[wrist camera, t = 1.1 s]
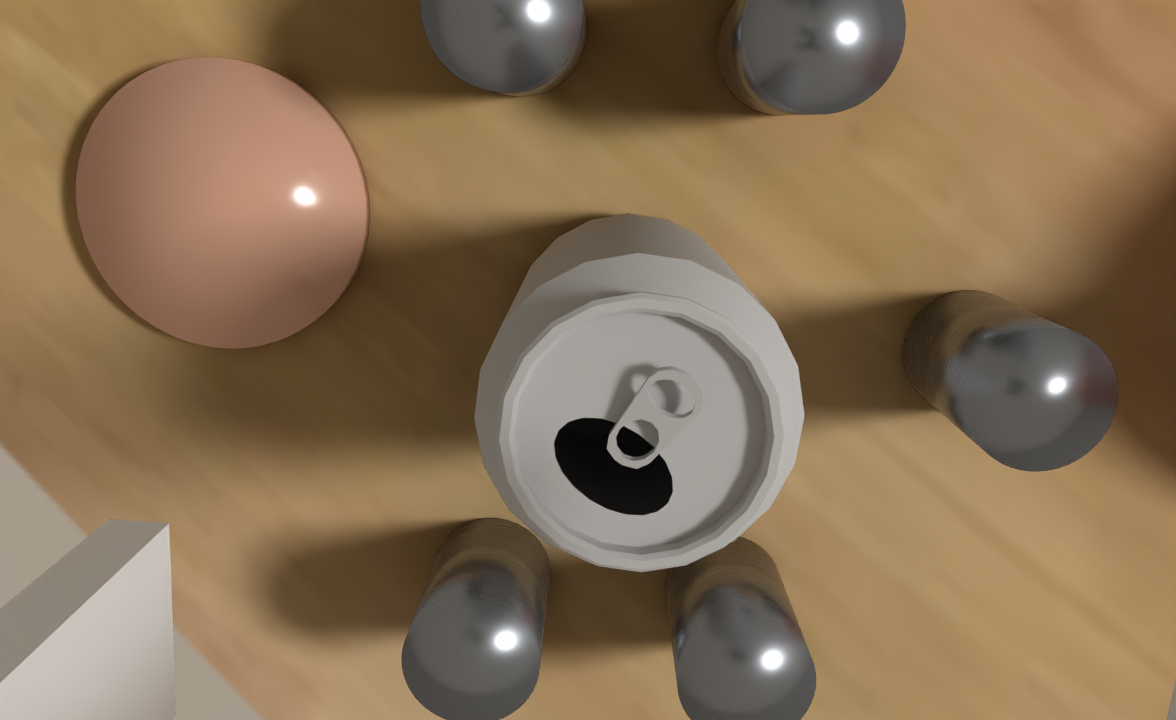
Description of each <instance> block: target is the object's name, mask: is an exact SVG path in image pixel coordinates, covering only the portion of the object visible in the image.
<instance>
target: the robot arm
mask: <svg viewBox="0 0 1176 720" xmlns="http://www.w3.org/2000/svg"><path fill="white" fill-rule="evenodd" d="M175 715H176V700H175V672H174V645H173V618H172V591H171V564H170V537H169V523H157V522H142V521H128V520H113V519H109V520H108V521H106V522H105V523H104V524H103V525H101V526H100V527H99V528H98V529H97V530H95V531H94V532H93V533H92V534H91V535H89V536H88V537H87V538H86V539H84V540H83V541H82V542H81V543H80V544H79V545H77V546H76V547H75V548H74V549H72V550H71V551H70V552H69V553H68V554H66V555H65V556H64V557H63V558H61V559H60V560H59V561H58V562H57V563H55V564H54V565H53V566H52V567H50V568H49V569H48V570H47V571H46V572H44V573H43V574H42V575H41V576H40V577H38V578H37V579H36V580H35V581H34V582H32V583H31V584H30V585H29V586H28V587H26V588H25V589H24V590H23V591H21V592H20V593H19V594H18V595H16V596H15V597H14V598H13V599H12V600H11V601H9V602H8V603H7V604H6V605H4V606H3V607H2V608H1V609H0V720H172V719H173V718H174V716H175ZM1167 720H1176V682H1175V686H1174V690H1173V694H1172V699H1171V703H1170V707H1169V712H1168V716H1167Z"/></svg>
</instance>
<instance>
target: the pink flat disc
mask: <svg viewBox="0 0 1176 720" xmlns="http://www.w3.org/2000/svg"><path fill="white" fill-rule="evenodd" d="M76 205H77V214H78V219H79V223H80V227H81V232H82V236H83V238H84V241H85V243H86V246H87V249H88V251H89V254H90V256H91V258H92V260H93V261H94V263H95V265H96V267H97V269H98V271H99V272H100V274H101V275H102V277H103V278H104V280H105V281H106V283H107V284H108V285H109V287H110V288H111V289H112V290H113V291H114V293H115V294H116V295H117V296H118V297H119V298H120V299H121V301H122V302H124V303H125V304H126V305H127V306H128V307H129V308H130V309H131V310H132V311H133V312H135V313H136V314H137V315H138V316H140V317H141V318H143V319H144V320H145V321H147V322H148V323H150V324H151V325H153V326H154V327H156V328H158V329H160V330H162V331H164V332H165V333H167V334H169V335H172V336H174V337H177V338H179V339H182V340H184V341H187V342H191V343H195V344H199V345H202V346H208V347H216V348H238V349H241V348H249V347H257V346H261V345H265V344H269V343H273V342H276V341H279V340H281V339H284V338H286V337H289V336H291V335H293V334H295V333H296V332H298V331H300V330H302V329H303V328H305V327H307V326H308V325H310V324H311V323H313V322H314V321H315V320H317V319H318V318H319V317H320V316H322V315H323V314H324V313H326V312H327V311H328V310H329V309H330V308H331V307H332V306H333V305H334V304H335V303H336V302H337V301H338V300H339V299H340V297H341V296H342V295H343V293H344V292H345V290H346V289H347V288H348V286H349V285H350V283H351V282H352V280H353V278H354V276H355V274H356V272H357V270H358V268H359V266H360V263H361V260H362V257H363V255H364V252H365V248H366V243H367V239H368V234H369V222H370V204H369V193H368V187H367V182H366V177H365V174H364V171H363V167H362V164H361V161H360V158H359V156H358V154H357V152H356V150H355V147H354V145H353V143H352V141H351V140H350V138H349V136H348V135H347V133H346V131H345V130H344V128H343V126H342V125H341V124H340V122H339V121H338V120H337V119H336V117H335V116H334V115H333V114H332V112H331V111H330V110H329V109H328V108H327V107H326V106H325V105H324V104H323V103H322V102H321V101H320V100H319V99H318V98H317V97H316V96H315V95H313V94H312V93H311V92H309V91H308V90H307V89H305V88H304V87H303V86H302V85H300V84H299V83H297V82H295V81H293V80H292V79H290V78H288V77H287V76H285V75H283V74H281V73H278V72H276V71H274V70H271V69H269V68H267V67H264V66H260V65H257V64H253V63H250V62H246V61H240V60H233V59H226V58H218V57H197V58H189V59H182V60H177V61H173V62H170V63H166V64H163V65H160V66H158V67H155V68H153V69H151V70H149V71H146V72H144V73H142V74H141V75H139V76H138V77H136V78H135V79H133V80H131V81H130V82H128V83H127V84H126V85H125V86H124V87H122V88H121V89H120V90H119V91H118V92H117V93H116V94H114V95H113V96H112V98H111V99H110V100H109V101H108V102H107V103H106V105H105V106H104V107H103V108H102V109H101V111H100V112H99V114H98V116H97V117H96V119H95V120H94V122H93V123H92V125H91V127H90V130H89V132H88V134H87V136H86V138H85V141H84V143H83V147H82V150H81V154H80V157H79V161H78V168H77V175H76Z"/></svg>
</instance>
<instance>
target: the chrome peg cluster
mask: <svg viewBox="0 0 1176 720" xmlns="http://www.w3.org/2000/svg"><path fill="white" fill-rule="evenodd" d="M421 16H422V23H423V27H424V30H425V34H426V37H427V39H428V41H429V44H430V46H431V47H432V49H433V51H434V53H435V54H436V56H437V57H438V58H439V60H440V61H441V62H442V63H443V65H444V66H445V67H446V68H447V69H448V70H449V71H451V72H452V73H453V74H454V75H456V76H457V77H458V78H460V79H461V80H463V81H465V82H467V83H468V84H471V85H473V86H475V87H478V88H482V89H485V90H489V91H493V92H497V93H501V94H506V95H510V96H517V97H526V96H534V95H538V94H541V93H544V92H546V91H549V90H551V89H553V88H554V87H556V86H558V85H559V84H560V83H561V82H563V81H564V80H565V79H566V78H567V77H568V76H569V75H570V74H571V72H572V71H573V70H574V68H575V67H576V65H577V63H578V61H579V60H580V57H581V55H582V52H583V49H584V45H585V40H586V18H585V12H584V6H583V1H582V0H421ZM905 29H906V22H905V11H904V6H903V2H902V0H736V1H735V2H734V4H733V5H732V6H731V7H730V9H729V10H728V12H727V14H726V15H725V17H724V20H723V22H722V24H721V27H720V31H719V34H718V40H717V60H718V65H719V69H720V72H721V75H722V78H723V80H724V81H725V83H726V85H727V87H728V88H729V90H730V91H731V92H732V93H733V94H734V96H735V97H736V98H737V99H738V100H740V101H741V102H742V103H743V104H745V105H746V106H748V107H750V108H752V109H754V110H756V111H758V112H762V113H765V114H771V115H812V114H831V113H837V112H840V111H844V110H847V109H850V108H852V107H854V106H856V105H858V104H860V103H862V102H863V101H865V100H866V99H868V98H869V97H870V96H872V95H873V94H874V93H875V92H876V91H877V90H878V89H879V88H881V87H882V85H883V84H884V83H885V82H886V80H887V79H888V78H889V76H890V75H891V73H892V72H893V70H894V68H895V66H896V64H897V62H898V60H899V58H900V55H901V52H902V48H903V44H904V39H905ZM903 362H904V367H905V371H906V374H907V377H908V379H909V381H910V383H911V384H912V386H913V387H914V388H915V390H916V391H917V392H918V393H919V394H920V395H921V396H922V397H923V398H925V399H926V400H927V401H928V402H929V403H930V404H931V405H933V406H934V407H935V408H936V409H937V410H938V411H939V412H941V413H942V414H943V415H944V416H945V417H946V418H947V419H949V420H950V421H951V422H952V423H953V424H954V425H955V426H957V427H958V428H959V429H960V430H961V431H962V432H963V433H965V434H966V435H967V436H968V437H969V438H970V439H971V440H973V441H974V442H975V443H976V444H977V445H978V446H980V447H981V448H982V449H983V450H984V451H985V452H986V453H988V454H989V455H990V456H991V457H993V458H994V459H995V460H997V461H999V462H1000V463H1002V464H1004V465H1006V466H1009V467H1011V468H1015V469H1018V470H1024V471H1047V470H1052V469H1057V468H1060V467H1063V466H1066V465H1068V464H1070V463H1072V462H1074V461H1076V460H1078V459H1080V458H1081V457H1083V456H1084V455H1086V454H1087V453H1088V452H1089V451H1090V450H1092V449H1093V448H1094V447H1095V446H1096V445H1097V444H1098V443H1099V441H1100V440H1101V439H1102V438H1103V436H1104V435H1105V434H1106V432H1107V430H1108V428H1109V427H1110V425H1111V423H1112V420H1113V418H1114V415H1115V412H1116V408H1117V402H1118V383H1117V377H1116V374H1115V370H1114V368H1113V366H1112V364H1111V362H1110V360H1109V358H1108V357H1107V355H1106V354H1105V353H1104V352H1103V350H1102V349H1101V348H1100V347H1099V346H1098V345H1097V344H1095V343H1094V342H1093V341H1092V340H1090V339H1088V338H1087V337H1085V336H1083V335H1081V334H1079V333H1077V332H1074V331H1072V330H1070V329H1068V328H1066V327H1063V326H1061V325H1059V324H1057V323H1055V322H1052V321H1050V320H1048V319H1046V318H1044V317H1041V316H1039V315H1037V314H1035V313H1033V312H1030V311H1028V310H1026V309H1024V308H1021V307H1019V306H1017V305H1015V304H1013V303H1010V302H1008V301H1006V300H1004V299H1002V298H999V297H997V296H995V295H993V294H990V293H987V292H983V291H976V290H964V291H957V292H953V293H949V294H947V295H944V296H942V297H940V298H938V299H936V300H934V301H933V302H932V303H930V304H929V305H927V306H926V307H925V308H924V309H923V310H922V311H921V312H920V313H919V314H918V315H917V317H916V318H915V319H914V321H913V322H912V324H911V326H910V328H909V330H908V332H907V335H906V338H905V342H904V347H903ZM549 584H550V563H549V559H548V556H547V553H546V551H545V549H544V547H543V546H542V544H541V543H540V541H539V540H538V539H537V538H536V537H535V536H534V535H533V534H532V533H531V532H530V531H528V530H527V529H526V528H524V527H522V526H521V525H519V524H517V523H514V522H512V521H508V520H504V519H498V518H485V519H478V520H474V521H471V522H469V523H466V524H464V525H462V526H460V527H459V528H457V529H456V530H455V531H453V532H452V533H451V534H450V535H449V536H448V537H447V539H446V540H445V541H444V543H443V544H442V546H441V548H440V550H439V553H438V555H437V558H436V560H435V563H434V566H433V568H432V571H431V574H430V576H429V579H428V581H427V584H426V587H425V589H424V592H423V595H422V597H421V600H420V602H419V605H418V608H417V610H416V613H415V615H414V618H413V621H412V623H411V626H410V629H409V631H408V634H407V636H406V639H405V642H404V645H403V649H402V669H403V675H404V677H405V680H406V683H407V685H408V687H409V689H410V691H411V692H412V694H413V695H414V697H415V698H416V699H417V700H418V701H419V702H420V703H421V704H422V705H423V706H424V707H425V708H426V709H428V710H429V711H431V712H432V713H434V714H436V715H437V716H439V717H441V718H444V719H446V720H499V719H502V718H504V717H506V716H508V715H510V714H512V713H513V712H514V711H516V710H517V709H518V708H520V707H521V706H522V705H523V704H524V703H525V702H526V700H527V699H528V698H529V696H530V695H531V693H532V692H533V690H534V688H535V685H536V683H537V679H538V676H539V669H540V660H541V652H542V643H543V635H544V626H545V618H546V609H547V601H548V592H549ZM665 594H666V602H667V610H668V617H669V625H670V633H671V640H672V648H673V656H674V664H675V671H676V679H677V687H678V694H679V698H680V702H681V704H682V706H683V709H684V710H685V712H686V714H687V715H688V717H689V718H690V719H691V720H800V719H801V718H802V717H803V716H804V714H805V713H806V712H807V710H808V708H809V706H810V704H811V702H812V700H813V697H814V693H815V688H816V671H815V667H814V663H813V660H812V658H811V655H810V653H809V650H808V647H807V645H806V642H805V640H804V637H803V634H802V632H801V629H800V627H799V624H798V621H797V619H796V616H795V614H794V611H793V608H792V606H791V603H790V601H789V598H788V595H787V593H786V590H785V588H784V585H783V582H782V580H781V577H780V575H779V572H778V569H777V567H776V565H775V563H774V561H773V559H772V558H771V557H770V555H769V554H768V553H767V552H766V551H765V550H764V549H763V548H762V547H760V546H759V545H757V544H756V543H754V542H752V541H750V540H748V539H746V538H743V537H737V538H736V539H735V540H734V541H733V542H730V543H729V544H728V545H726V546H725V547H723V548H721V549H719V550H717V551H715V552H713V553H711V554H708V555H706V556H704V557H702V558H700V559H698V560H696V561H694V562H692V563H690V564H687V565H685V566H679V567H672V568H670V569H669V571H668V574H667V578H666V583H665Z"/></svg>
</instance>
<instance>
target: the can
mask: <svg viewBox="0 0 1176 720" xmlns="http://www.w3.org/2000/svg"><path fill="white" fill-rule="evenodd" d="M804 416H805V415H804V408H803V400H802V392H801V385H800V377H799V369H798V365H797V363H796V361H795V359H794V357H793V355H792V353H791V351H790V349H789V347H788V345H787V343H786V341H785V339H784V337H783V335H782V333H781V331H780V329H779V327H778V325H777V323H776V321H775V319H774V318H773V317H772V316H771V315H770V314H769V312H768V311H767V310H766V309H765V308H764V306H763V305H762V304H761V303H760V302H759V301H758V299H757V298H756V297H755V296H754V295H753V293H752V292H751V291H750V290H749V289H748V288H747V286H746V285H745V284H744V283H743V282H742V280H741V279H740V278H739V277H738V276H737V275H736V273H735V272H734V271H733V270H732V269H731V267H730V266H729V265H728V264H727V263H726V262H725V261H724V260H723V259H722V258H721V257H720V256H719V255H718V254H717V253H716V252H715V251H714V250H713V249H712V248H711V247H710V246H709V245H708V244H707V243H706V242H705V241H704V240H703V239H702V238H701V237H700V236H699V235H697V234H695V233H693V232H691V231H689V230H687V229H685V228H683V227H681V226H679V225H677V224H675V223H673V222H671V221H669V220H667V219H663V218H657V217H650V216H643V215H636V214H629V213H628V214H622V215H616V216H610V217H605V218H599V219H593V220H590V221H588V222H586V223H584V224H582V225H580V226H578V227H577V228H575V229H573V230H571V231H569V232H567V233H565V234H563V235H561V236H560V237H558V238H557V239H556V240H555V241H554V242H553V243H552V244H551V245H550V246H549V247H548V248H547V249H546V250H545V251H544V252H543V253H542V254H541V255H540V256H539V257H538V258H537V259H536V261H535V262H534V263H533V264H532V265H531V267H530V269H529V271H528V273H527V275H526V277H525V279H524V281H523V283H522V285H521V287H520V289H519V291H518V293H517V295H516V297H515V299H514V301H513V303H512V305H511V307H510V309H509V311H508V313H507V315H506V317H505V319H504V321H503V323H502V325H501V327H500V329H499V331H498V333H497V336H496V338H495V340H494V342H493V344H492V346H491V348H490V350H489V352H488V354H487V356H486V359H485V361H484V363H483V365H482V367H481V369H480V375H479V383H478V391H477V400H476V408H475V416H474V421H475V426H476V431H477V435H478V440H479V445H480V450H481V454H482V459H483V464H484V468H485V470H486V471H487V473H488V475H489V476H490V478H491V480H492V482H493V483H494V485H495V487H496V488H497V490H498V492H499V494H500V495H501V497H502V499H503V501H504V502H505V504H506V506H507V507H508V509H509V510H510V511H511V512H512V513H513V514H514V515H515V516H516V517H518V518H519V519H520V520H521V521H522V522H523V523H524V524H525V525H526V526H528V527H529V528H530V529H531V530H532V531H533V532H534V533H535V534H536V535H538V536H539V537H540V538H541V539H542V540H543V541H544V542H545V543H547V544H550V545H552V546H554V547H556V548H558V549H561V550H563V551H565V552H567V553H569V554H571V555H574V556H576V557H578V558H580V559H582V560H584V561H587V562H589V563H592V564H594V565H596V566H600V567H608V568H615V569H622V570H629V571H637V572H646V571H653V570H659V569H666V568H672V567H679V566H685V565H687V564H690V563H692V562H694V561H696V560H698V559H700V558H702V557H704V556H706V555H708V554H711V553H713V552H715V551H717V550H719V549H721V548H723V547H725V546H726V545H728V544H729V543H730V542H733V541H734V540H735V539H736V538H737V537H739V536H740V535H741V534H742V533H743V532H744V531H745V530H746V529H747V528H748V527H749V526H751V525H752V524H753V523H754V522H755V521H756V520H757V519H758V518H759V517H760V516H761V515H762V514H764V513H765V512H766V511H767V510H768V509H769V508H770V507H771V505H772V503H773V502H774V500H775V498H776V496H777V495H778V493H779V491H780V489H781V488H782V486H783V484H784V482H785V481H786V479H787V477H788V475H789V474H790V472H791V470H792V468H793V467H794V465H795V461H796V456H797V451H798V446H799V441H800V436H801V431H802V426H803V421H804Z"/></svg>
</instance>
